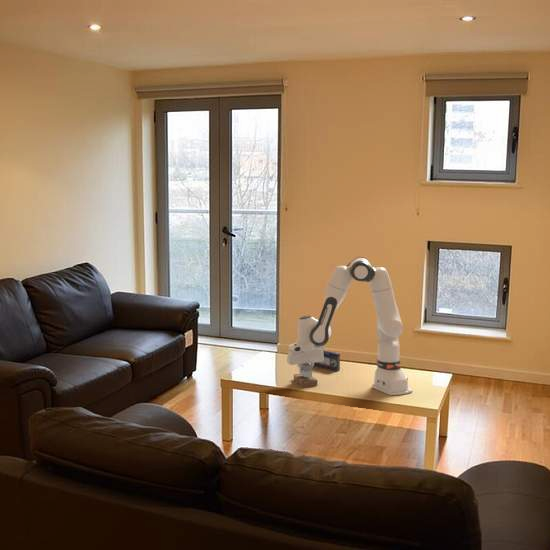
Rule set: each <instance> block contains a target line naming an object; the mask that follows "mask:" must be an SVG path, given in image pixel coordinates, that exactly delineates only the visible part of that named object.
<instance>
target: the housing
mask: <svg viewBox="0 0 550 550" xmlns="http://www.w3.org/2000/svg"><path fill="white" fill-rule="evenodd" d="M300 367H301V368H303V372H300V371H299V370H298V372H299V373H298V374H301V375H303V376H304V377H313V367H312V365H311V363H304V364H301V366H300Z"/></svg>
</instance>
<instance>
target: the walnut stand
mask: <svg viewBox="0 0 550 550" xmlns="http://www.w3.org/2000/svg"><path fill="white" fill-rule="evenodd" d="M293 380H294V381H295V382H296V383H297V384H298V383H299V386H301V387H302V388H309V386H311V387H317V386H318V379H316V378H315V377H314V376H312V377H304V376H303V375H301V374H300V373H296V374H293ZM316 385H317V386H316Z"/></svg>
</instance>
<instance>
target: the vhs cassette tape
mask: <svg viewBox="0 0 550 550" xmlns="http://www.w3.org/2000/svg"><path fill="white" fill-rule="evenodd" d="M323 354H324V360H323V361H322V362H314V366H313V367H316V366H317V367H316V368H320V367H321V368H320V369H324V368H325V370H329V369H330V371H333V370H335V371H334V372H339V370H340V368H341V365H340V364H341V361H340V360H341V354H340V353H338V352H337V353H336V352H333V351H328V350H323Z"/></svg>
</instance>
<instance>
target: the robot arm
mask: <svg viewBox="0 0 550 550" xmlns="http://www.w3.org/2000/svg"><path fill="white" fill-rule="evenodd" d="M354 280H355V281H357V282H364V283H365V282H366V283H369V287H370V293H371V296H372V297H371V298H372V301H373V306H374V309H375V313H376V337H377V359H376V366H377V367H376V370H375V372H374V375H373V376H374V377H373V383H372V385H371V388H372V389H375V390H377V391H379V392H382V393H384V394H387V395H389V396H399V395H407V394H411V393H413V389H412V388H411V387H410V386H409V385H408V384H409V383H408V381H409V377H408V376H406V375H405V373H404V371H403V370H402V364H401V361H400V342H399V341H400V340H399V336H401V334H402V332H403V330H404V329H403V328H404V327H403V326H404V325H403V322H402V319H401V314H400V312H399V311H400V310H399V308H398V305H397V302H396V298H395V293H394V288H393V284H392V281H391V278H390V275H389V272H388V270H387V269H386V268H385V267H379V266H378V267H374V266H372V264H371V262H370V261H369V259H367V258H366V257H363V256H357V257H356V258H354V259H353V260H351V261H350V262H349V263H348V264H347V265H338V266H335V268H334V269H333V270H332V273H331V275H330V277H329V279H328V282H327V285H326V288H325V293H324V299H323V304H322V305H323V306H322V309H321V312H320V314H319V315H320V316H319V318H318V319H316V318H315V317H313V315H304V316H301V317H300V318H299V319H298V320H297V329H296V331H297V340H296V342H294V343H291V344H288V345H289V346H288V349H289V350H288V351H287V356H286V363H287V364H288V365H290V366H293V365H296V366H297V367H298V372H299V371H300V372H303V368H301V367H300V366H301V364H304V363H309V364H310V365H312V368H313V367H315V366H314V362H322V361H323V360H324V354H323V351H325V350H324V346H325V345H326V344H327V343H328V342H329V338H330V337H331V335H332V331H333V329H332V327H331V322H332V319H333V317H334V316H335V315H334V314H335V313H336V311H337V310H338V307H339V306H340V305H341V304H342V302H343V301H344V300H345V297H346V295H347V293H348V291H349V287H350V285H351V283H352V281H354Z"/></svg>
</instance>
